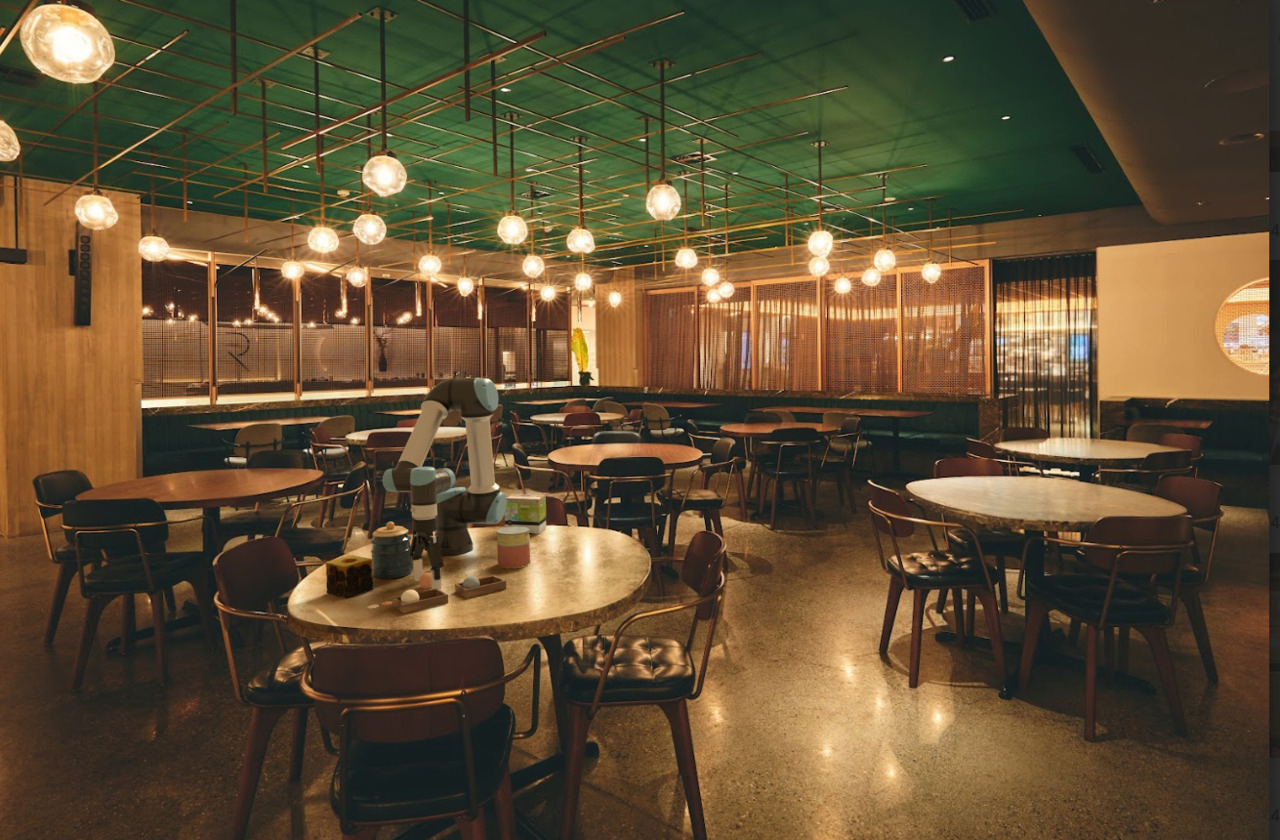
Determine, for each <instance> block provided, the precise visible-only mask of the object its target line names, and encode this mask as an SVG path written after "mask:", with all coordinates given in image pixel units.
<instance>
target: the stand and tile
mask: <svg viewBox="0 0 1280 840" xmlns="http://www.w3.org/2000/svg"><path fill="white" fill-rule="evenodd" d="M381 605H383V606H388V605H389V606H390V605H393V601H383V602H382V603H381ZM379 606H380V605H379V604H370V605H368V606H367V609H375V608H378V607H379Z"/></svg>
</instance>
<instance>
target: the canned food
mask: <svg viewBox="0 0 1280 840" xmlns="http://www.w3.org/2000/svg"><path fill="white" fill-rule="evenodd" d="M529 530H530V529H529V528H528V527H523V526H511V527H505V526H504V527H501V528H498V529H497V530H496V539H497V540H496V542H497V543H496V544H497V547H496V549H497V566H498V567H500V568H503V569H508V568H513V569H519V568H518V567H521V568H523V567H522V566H525V567H527V566H526V565H528V564H529V565H531V546H530V545H531V544H530V543H531V540H530V538H531V537H530V534H529ZM529 565H528V566H529Z"/></svg>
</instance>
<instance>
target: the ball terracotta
mask: <svg viewBox="0 0 1280 840" xmlns="http://www.w3.org/2000/svg"><path fill="white" fill-rule="evenodd" d="M418 585H419V586H420V587H421V589H424V590H431V589H432V587H431V572H425V573H423V575H422V576H421V577H420V579H419V580H418Z"/></svg>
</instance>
